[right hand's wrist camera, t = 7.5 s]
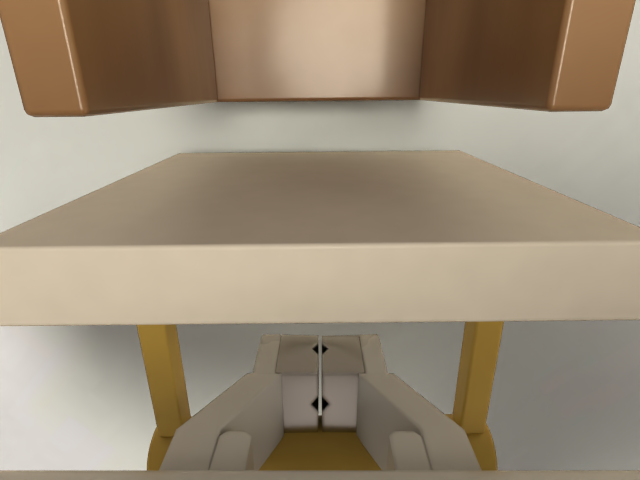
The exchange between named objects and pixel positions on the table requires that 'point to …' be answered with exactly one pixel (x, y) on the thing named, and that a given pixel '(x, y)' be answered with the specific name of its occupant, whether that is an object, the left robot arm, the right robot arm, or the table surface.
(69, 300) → the drawer
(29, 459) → the table surface
